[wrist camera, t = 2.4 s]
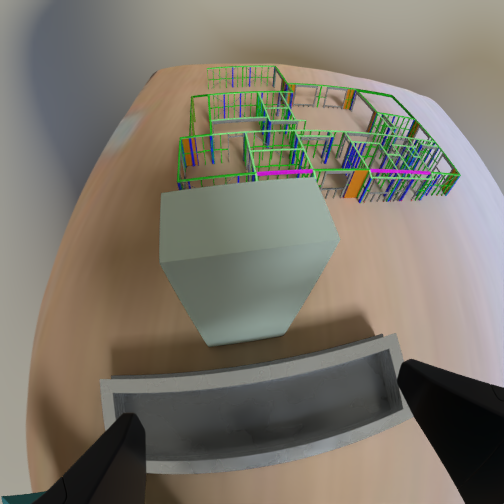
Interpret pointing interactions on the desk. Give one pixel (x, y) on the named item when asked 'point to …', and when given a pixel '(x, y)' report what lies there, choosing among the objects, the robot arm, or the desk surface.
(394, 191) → the house model
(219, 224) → the door panel
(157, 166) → the desk surface
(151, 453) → the door track
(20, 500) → the teal curved piece
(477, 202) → the desk surface
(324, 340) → the desk surface
